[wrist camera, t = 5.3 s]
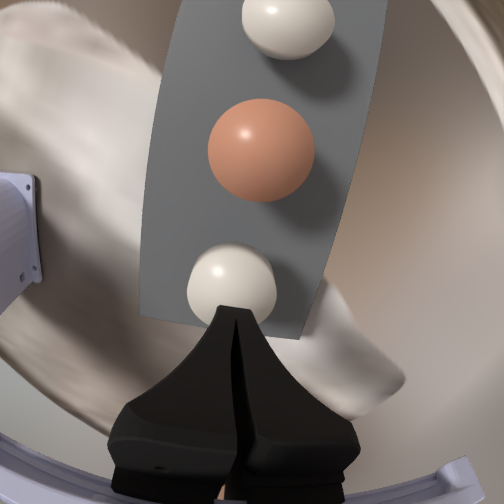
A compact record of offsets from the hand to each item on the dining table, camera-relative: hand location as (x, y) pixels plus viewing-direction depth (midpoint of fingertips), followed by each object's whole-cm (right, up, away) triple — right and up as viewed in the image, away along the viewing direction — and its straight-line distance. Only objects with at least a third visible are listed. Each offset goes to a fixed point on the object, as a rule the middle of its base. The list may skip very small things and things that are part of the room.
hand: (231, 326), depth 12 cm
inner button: (0, +2, +5) cm, 6 cm away
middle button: (+1, +8, +2) cm, 9 cm away
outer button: (+3, +15, +1) cm, 15 cm away
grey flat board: (+1, +10, +6) cm, 12 cm away
